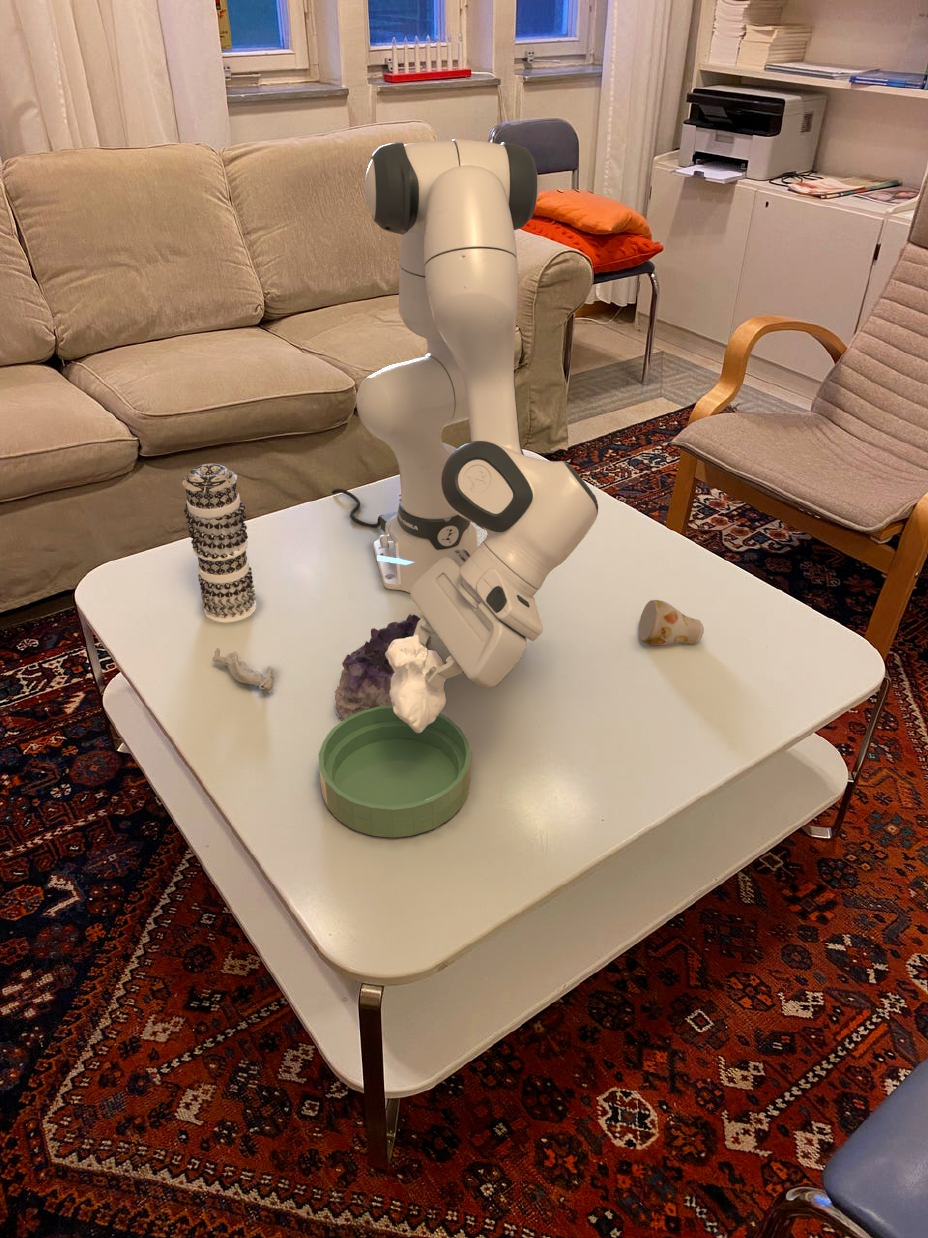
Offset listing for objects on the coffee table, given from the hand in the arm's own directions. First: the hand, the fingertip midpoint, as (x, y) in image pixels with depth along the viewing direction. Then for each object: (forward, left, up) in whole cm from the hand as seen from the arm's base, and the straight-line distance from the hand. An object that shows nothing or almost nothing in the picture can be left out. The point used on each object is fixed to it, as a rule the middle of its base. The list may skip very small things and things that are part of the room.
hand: (420, 668), depth 116 cm
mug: (-12, +47, -18) cm, 52 cm away
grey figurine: (-28, -17, -18) cm, 37 cm away
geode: (-18, +2, -18) cm, 25 cm away
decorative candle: (-48, -15, -18) cm, 53 cm away
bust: (0, -1, -6) cm, 6 cm away
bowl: (+1, -4, -17) cm, 18 cm away
